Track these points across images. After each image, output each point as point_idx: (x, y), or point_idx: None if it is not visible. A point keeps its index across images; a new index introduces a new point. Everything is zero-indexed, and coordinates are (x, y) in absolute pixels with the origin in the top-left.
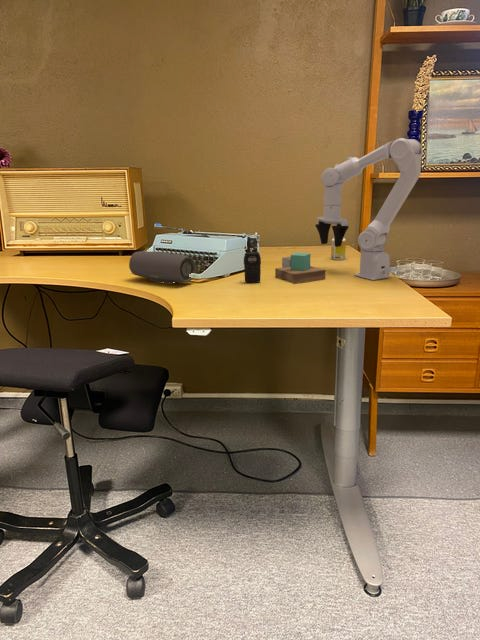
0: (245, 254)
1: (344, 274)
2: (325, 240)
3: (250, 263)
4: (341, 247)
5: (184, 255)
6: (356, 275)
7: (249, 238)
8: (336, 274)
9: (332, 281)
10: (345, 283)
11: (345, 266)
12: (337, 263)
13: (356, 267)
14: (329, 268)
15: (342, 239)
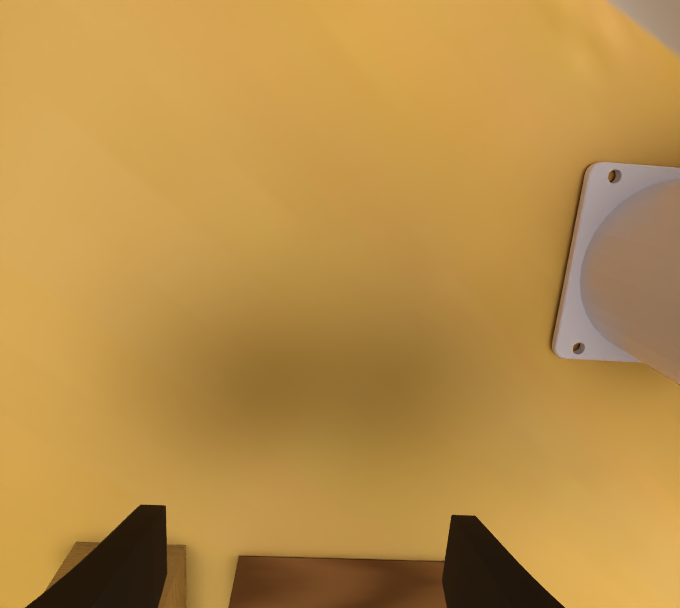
0: None
1: (466, 370)
2: (150, 568)
3: None
4: None
5: None
6: (586, 357)
7: None
8: (425, 415)
9: (564, 566)
10: (660, 542)
11: (211, 117)
12: (28, 61)
13: (316, 67)
14: (202, 303)
15: (530, 579)
